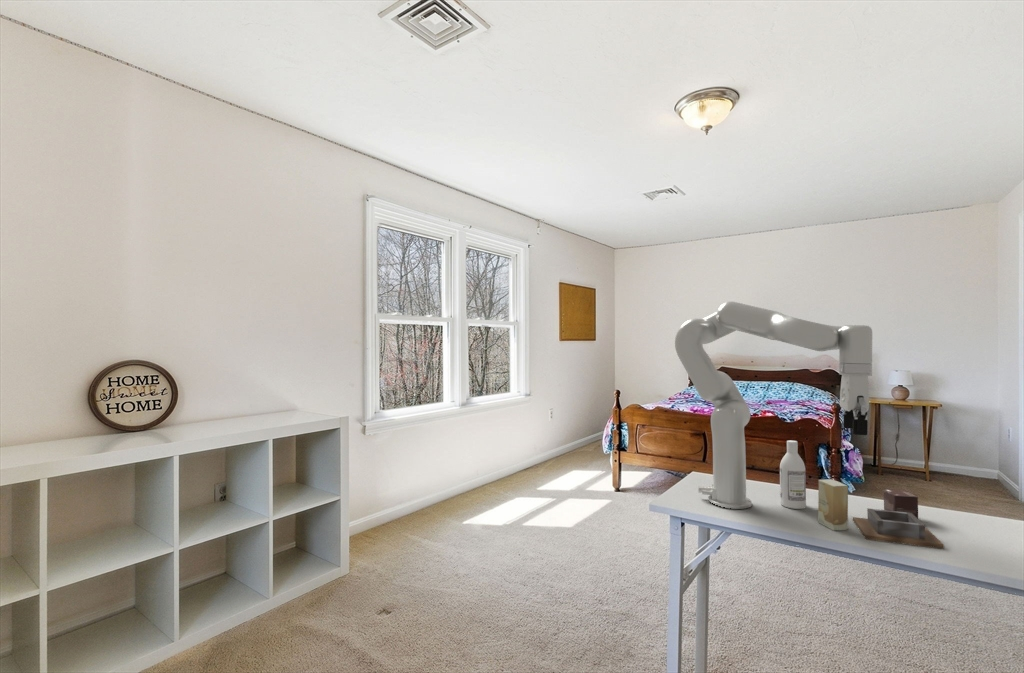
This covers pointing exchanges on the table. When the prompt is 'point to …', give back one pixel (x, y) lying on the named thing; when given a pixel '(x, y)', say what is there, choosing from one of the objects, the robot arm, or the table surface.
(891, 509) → the box
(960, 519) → the table surface
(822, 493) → the skincare box
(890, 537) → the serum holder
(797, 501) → the bath foam
